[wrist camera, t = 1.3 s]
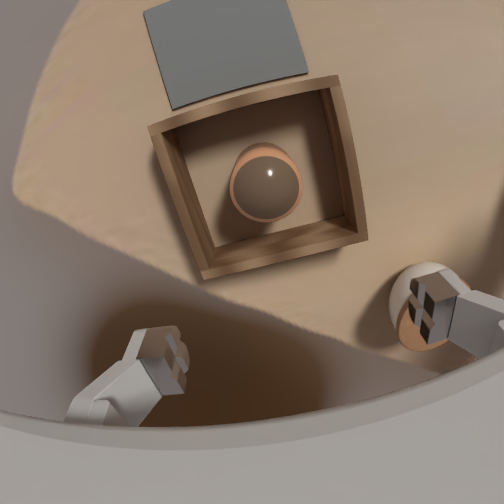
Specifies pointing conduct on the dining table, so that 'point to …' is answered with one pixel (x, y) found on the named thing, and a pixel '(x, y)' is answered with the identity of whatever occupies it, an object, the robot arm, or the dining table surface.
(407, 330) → the lidded jar
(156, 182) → the dining table surface
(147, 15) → the slate mat
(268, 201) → the peach cylinder
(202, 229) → the wooden frame
